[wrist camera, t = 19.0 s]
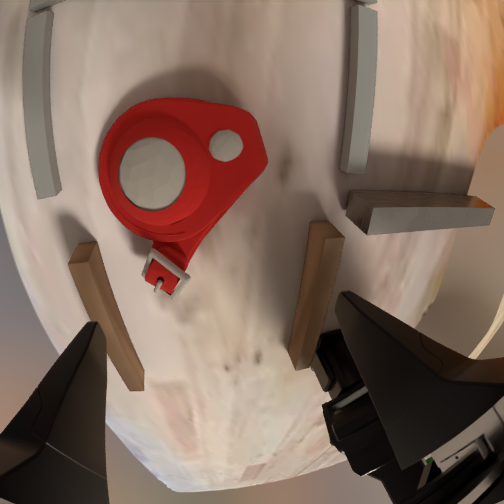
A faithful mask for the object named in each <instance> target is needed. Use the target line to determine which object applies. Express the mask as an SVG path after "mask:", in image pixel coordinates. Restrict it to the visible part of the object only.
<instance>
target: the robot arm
mask: <svg viewBox="0 0 504 504" xmlns="http://www.w3.org/2000/svg"><path fill="white" fill-rule="evenodd" d="M335 314H336V317H337V319H338V322H339V325H340V328H341V330H337V331H333V332H328V333H325V334H323V335H321V337H320V339H319V342H318V346H317V349H316V351H315V354H314V357H313V360H312V363H311V369H312V371H314V372H315V374H316V376H317V378H318V380H319V383H320V385H321V387H322V389H323V391H324V392H329V394H330V397H331V399H332V400H331V401H329V402H326V403H324V404H322V408H323V414H324V418H325V422H326V426H327V429H328V433H329V437H330V443H331V445H333V446H335V447H336V448H337V449H338V451H339V452H340V453H342V454H345V455H346V457H347V459H348V461H349V463H350V465H351V468H352V470H353V471H354V472H355V473H357V474H358V475H360V476H364V475H366V474H367V475H369V476H371V477H373V478H375V479H378V480H380V481H381V482H382V483H383V485H384V487H385V489H386V491H387V493H388V495H389V497H390V499H391V501H392V503H393V504H495V503H498V502H500V501H502V500H504V357H502V358H494V359H485V360H475V359H471V358H468V357H466V356H464V355H462V354H460V353H457V352H456V351H453V350H451V349H449V348H447V347H445V346H444V345H442V344H440V343H438V342H436V341H434V340H432V339H431V338H429V337H427V336H426V335H424V334H422V333H420V332H418V331H417V330H415V329H414V328H412V327H410V326H409V325H407V324H405V323H404V322H402V321H400V320H399V319H397V318H395V317H394V316H392V315H390V314H389V313H387V312H385V311H384V310H382V309H380V308H379V307H377V306H375V305H373V304H372V303H370V302H368V301H367V300H365V299H363V298H362V297H360V296H358V295H356V294H355V293H353V292H351V291H343V292H340V293H339V295H338V298H337V302H336V305H335ZM106 390H107V341H106V336H105V334H104V332H103V330H102V328H101V326H100V324H99V322H98V321H90V322H87V323H86V324H85V325H84V327H83V328H82V329H81V330H80V332H79V333H78V334H77V335H76V336H75V338H74V339H73V340H72V341H71V343H70V344H69V345H68V346H67V348H66V349H65V350H64V352H63V353H62V354H61V355H60V357H59V358H58V359H57V361H56V362H55V363H54V365H53V366H52V367H51V369H50V370H49V371H48V373H47V374H46V375H45V377H44V378H43V380H42V381H41V382H40V384H39V385H38V388H36V389H35V391H34V392H33V394H32V395H31V396H30V397H29V399H28V401H27V402H26V403H25V404H24V406H23V407H22V408H21V409H20V411H19V412H18V413H17V414H16V415H15V417H14V418H13V419H12V420H11V422H10V423H9V424H8V425H7V427H6V428H5V429H4V431H3V432H2V433H1V434H0V504H109V496H108V487H107V486H108V485H107V475H106V453H105V412H106ZM429 454H431V455H432V457H433V458H434V460H433V461H431V462H430V463H428V464H427V463H426V461H425V459H424V457H426V456H428V455H429Z"/></svg>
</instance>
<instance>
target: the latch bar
mask: <svg viewBox="0 0 504 504" xmlns="http://www.w3.org/2000/svg"><path fill="white" fill-rule="evenodd" d="M494 210H495V208H494V207H492V206H491V205H489V204H487V203H486V202H484V201H483V200H481V199H480V198H478V197H476V196H467V195H455V194H440V193H423V192H399V191H350V193H349V199H348V205H347V210H346V215H345V216H346V217H347V218H349V219H350V220H351V221H352V222H353V223H354V224H355V225H356V226H357V227H358V228H360V229H361V230H362V231H363V232H364V233H365V234H366V235H377V234H389V233H400V232H412V231H424V230H436V229H449V228H460V227H473V226H486V225H490V222H491V219H492V216H493V213H494Z"/></svg>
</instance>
